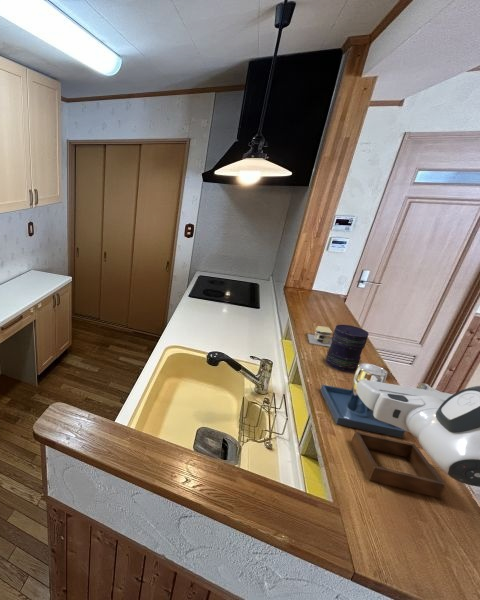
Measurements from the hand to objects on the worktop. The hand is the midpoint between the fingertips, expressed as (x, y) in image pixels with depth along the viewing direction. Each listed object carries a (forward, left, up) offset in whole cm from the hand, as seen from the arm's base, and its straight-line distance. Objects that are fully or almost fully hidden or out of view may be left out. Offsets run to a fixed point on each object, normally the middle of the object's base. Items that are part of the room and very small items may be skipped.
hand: (397, 381), depth 83 cm
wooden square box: (0, +10, -19) cm, 22 cm away
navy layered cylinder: (-4, -42, -19) cm, 46 cm away
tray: (0, -12, -19) cm, 23 cm away
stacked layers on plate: (-2, -63, -19) cm, 66 cm away
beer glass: (0, -12, -19) cm, 22 cm away
